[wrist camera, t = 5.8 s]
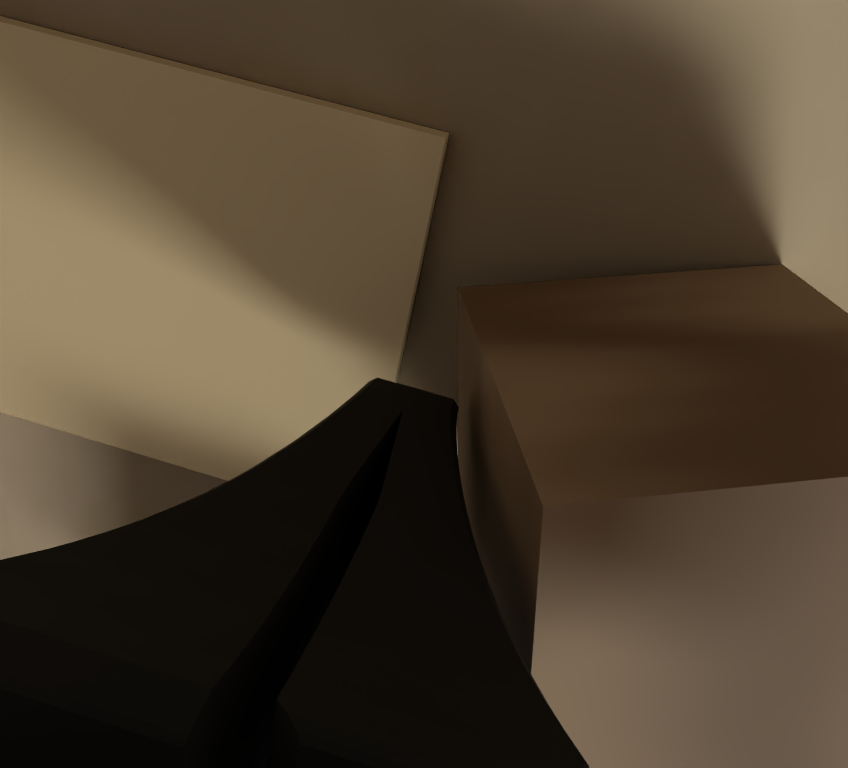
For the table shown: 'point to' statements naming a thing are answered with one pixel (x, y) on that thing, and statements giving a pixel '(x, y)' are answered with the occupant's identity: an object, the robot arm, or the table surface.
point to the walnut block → (667, 508)
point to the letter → (196, 250)
